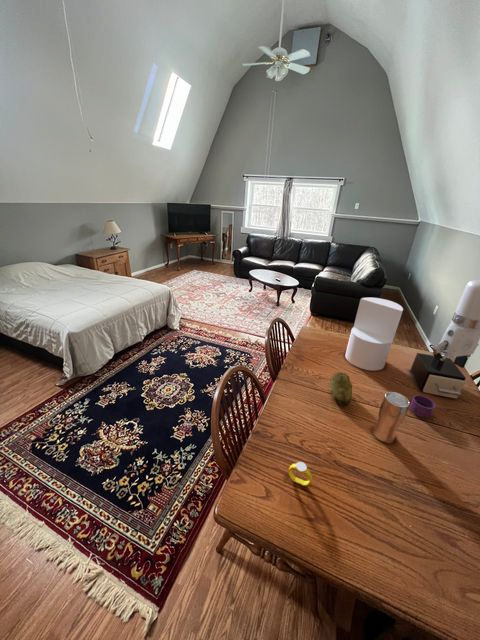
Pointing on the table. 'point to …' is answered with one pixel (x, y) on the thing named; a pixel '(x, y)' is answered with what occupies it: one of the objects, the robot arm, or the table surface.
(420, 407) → the bowl
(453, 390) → the drawer
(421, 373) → the cabinet
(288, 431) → the table surface
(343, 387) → the green rounded piece
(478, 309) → the robot arm
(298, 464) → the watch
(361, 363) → the cylinder
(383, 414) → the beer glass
